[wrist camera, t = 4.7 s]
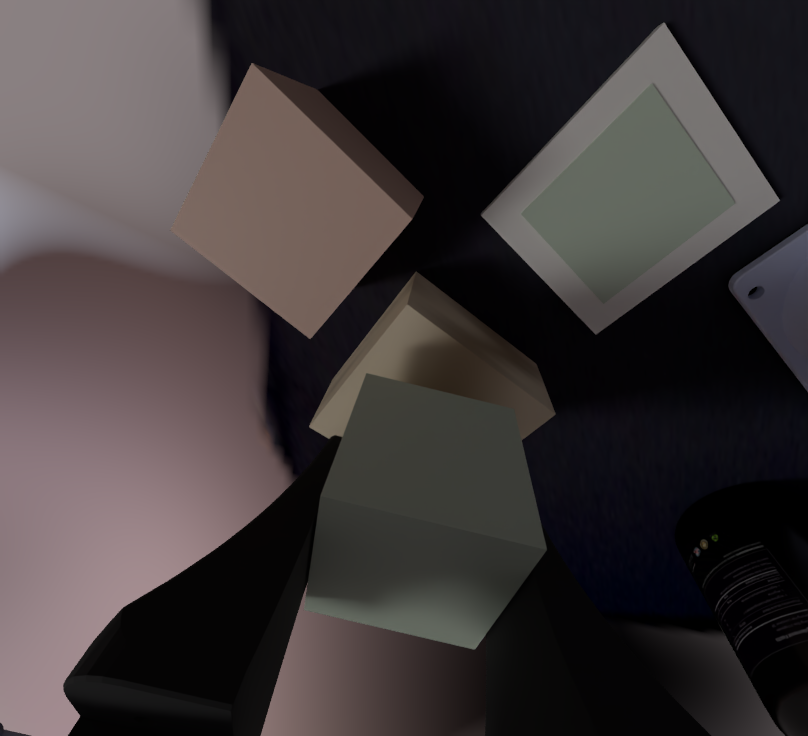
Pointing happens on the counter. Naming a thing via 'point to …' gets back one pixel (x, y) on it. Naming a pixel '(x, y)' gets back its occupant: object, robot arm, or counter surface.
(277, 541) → the robot arm
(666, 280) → the card
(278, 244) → the terracotta block
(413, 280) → the maple block
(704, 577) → the supplement bottle
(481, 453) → the sage block
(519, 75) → the counter surface
